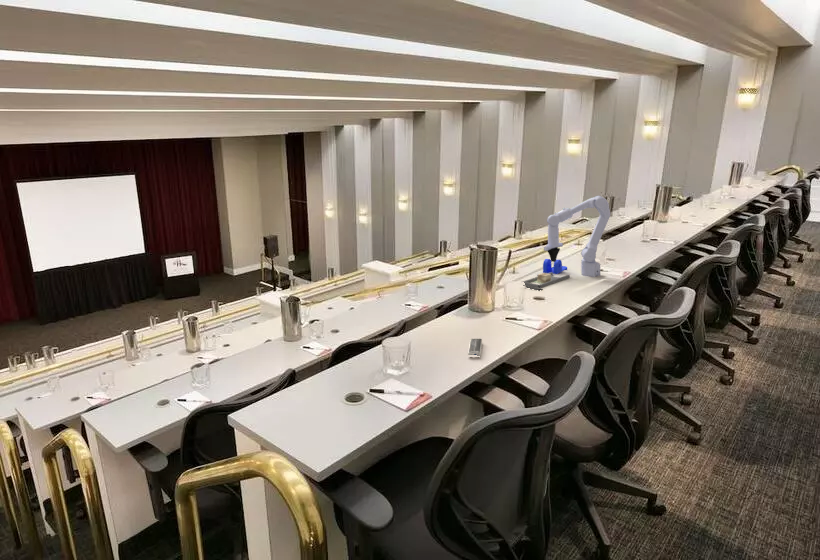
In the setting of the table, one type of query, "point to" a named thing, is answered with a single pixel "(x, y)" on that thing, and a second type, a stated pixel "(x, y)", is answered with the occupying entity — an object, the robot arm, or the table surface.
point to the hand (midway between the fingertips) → (553, 261)
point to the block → (543, 277)
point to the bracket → (556, 268)
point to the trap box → (553, 280)
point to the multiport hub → (475, 347)
